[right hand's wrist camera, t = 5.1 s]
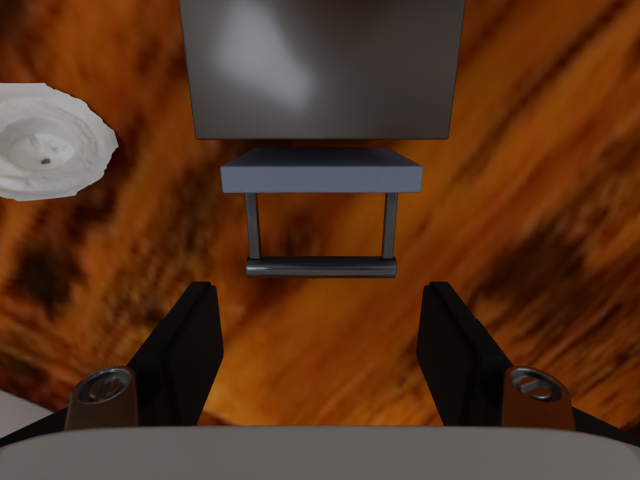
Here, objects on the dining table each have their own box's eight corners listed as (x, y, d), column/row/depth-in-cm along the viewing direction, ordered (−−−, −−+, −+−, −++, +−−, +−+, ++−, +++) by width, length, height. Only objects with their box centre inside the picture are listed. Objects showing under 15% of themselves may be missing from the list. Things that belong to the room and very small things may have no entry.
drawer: (380, 245, 26) (409, 307, 18) (261, 245, 26) (234, 307, 18) (400, -60, 19) (460, -187, 11) (241, -60, 19) (183, -187, 11)
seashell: (80, 137, 27) (-71, 116, 21) (101, 90, 24) (-69, 49, 18) (107, 225, 25) (-51, 230, 19) (133, 185, 22) (-45, 176, 16)
